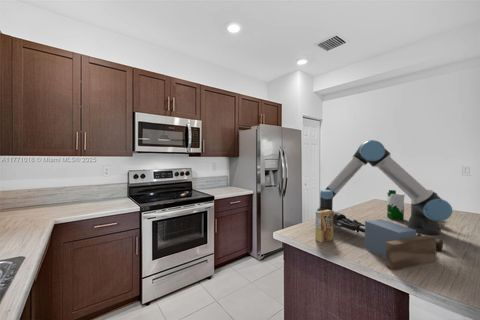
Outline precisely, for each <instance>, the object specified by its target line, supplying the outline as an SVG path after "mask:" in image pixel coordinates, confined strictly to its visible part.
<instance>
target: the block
mask: <svg viewBox="0 0 480 320" xmlns="http://www.w3.org/2000/svg"><path fill="white" fill-rule="evenodd" d="M364 225H365V233H364V248H365V249H367V250H369V251H371V252H372V253H375V254H377V255H379V256H381V257H383V258H385V259H386V242H389V241H395V240H401V239H407V238H413V237H416V235H417V232H416V230H414V229H411V228H408V227H407V226H404V225H401V224H398V223H396V222H395V223H394V222H391V221H388V220H384V219H381V218H380V219H372V220H365V221H364Z"/></svg>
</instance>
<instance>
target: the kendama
mask: <svg viewBox="0 0 480 320" xmlns="http://www.w3.org/2000/svg"><path fill="white" fill-rule="evenodd" d="M419 236H423V235H422V233H419V232H416V237H419ZM443 248H444V241H443V239H442V238H436V251H438V252H442V251H443Z"/></svg>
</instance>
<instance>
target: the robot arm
mask: <svg viewBox="0 0 480 320" xmlns="http://www.w3.org/2000/svg"><path fill="white" fill-rule="evenodd" d="M367 164H369V165H370V166H371V167H373V168H377V169H378V170H380V171H381V172H382V173H383V174H384V176H386V177H387V178H388V179H389V180H390V181H392V183H393V184H395V186H397V187H398V188H399V190H401V191H402V192H404V195H406V196H407V197H409V198H410V200H411V201H410V217H409V219H408V222H407V224H406V225H407V226H406V227H408V228H411V229H414V230H416V233H419V234H423V235H430V236H432V235H433V236H434V235H436V236H437V235H441V234H442V228H441V225H440V223H439V222H443V221H446V220H448V219H450V218H451V216H452V214H453V207H452V205H451V203H450V202H448V201H447V200H445V199H443V198H441V197H440V196H439V195H438V193H437V192H435V191H433V190H432V189H427V188H425V187H424V186H423V185H422V184H421V183H420V182H419V181H417V179H416V178H414V177H413V176H412V175H411V174H410V173H409V172H408V171H406V170H405V169H404V168H403V167H402V166H401V165H400V164H398V162H396V161H395V160H394V159H393V158H392V157H391V152H390V151H388V150H387V149H386V148H385V145H383V143H382V142H380V141H379V140H375V139H371V140H367V141H364V142H363V143H361V144H360V145H359V147H358V148H357V150H356V151H355V152H354V154H353V155H352V158H351V160H350V161H349V162H348V163H347V164H346V165H345V166H344V168H343V169H342V170H341V171H340V172H339V173H338V174H337V175H336V177H334V178H333V179H332V181H331V182H330V183H329V184H328V185H327V187H326V188H325V189H321V190H320V192H319V207H318V208H317V209H316V211H322V210H331V211H333V226H334V225H335V226H336V227H338V228H343V229H346V230H349V231H353V232H356V233H363V234H365V224H363V223H362V222H360V221H358V220H357V219H353V220H351V219H350V218H347V217H346V215H345V214H343V213H340V212H337V211H335V210H333V206H334V205H333V201H334V200H333V199H334V198H335V196H336V195H337V194H338V193H339V192H340V191H341V190H342V189H343V188H344V186H346V185H347V183H348V182H349V181H351V179H352V178H353V177H354V176H355V175H356V174H357V173H358V171H359V170H361V168H362V167H363V166H366V165H367Z"/></svg>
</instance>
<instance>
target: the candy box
mask: <svg viewBox="0 0 480 320" xmlns="http://www.w3.org/2000/svg"><path fill="white" fill-rule="evenodd" d="M333 211H334V210H332V211H331V210H322V211H317V210H316V211H315V232H314V233H315V237H314V239H315V241H318V242H320V243H324V242H329V241H333V239H334V225H333Z"/></svg>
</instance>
